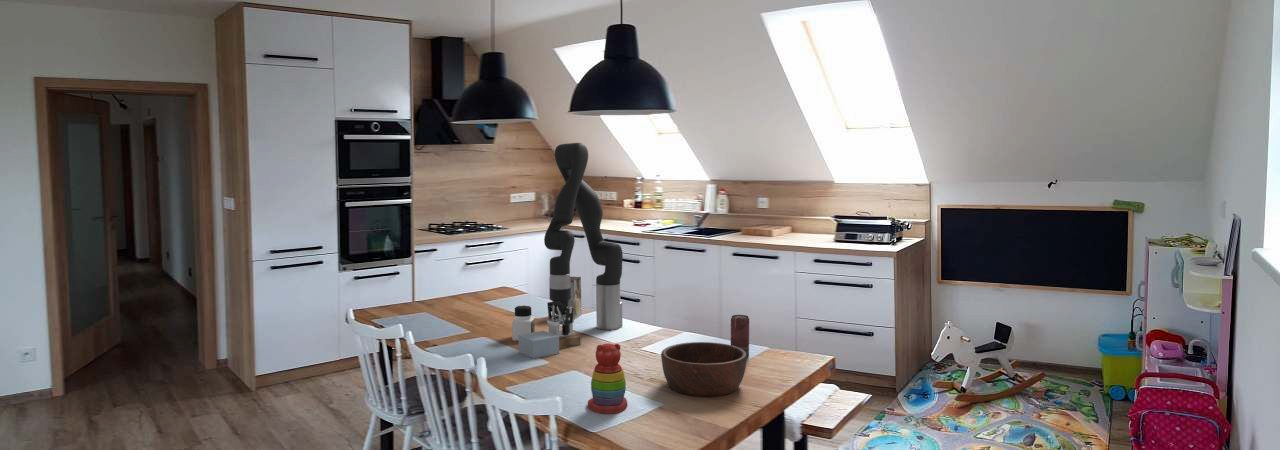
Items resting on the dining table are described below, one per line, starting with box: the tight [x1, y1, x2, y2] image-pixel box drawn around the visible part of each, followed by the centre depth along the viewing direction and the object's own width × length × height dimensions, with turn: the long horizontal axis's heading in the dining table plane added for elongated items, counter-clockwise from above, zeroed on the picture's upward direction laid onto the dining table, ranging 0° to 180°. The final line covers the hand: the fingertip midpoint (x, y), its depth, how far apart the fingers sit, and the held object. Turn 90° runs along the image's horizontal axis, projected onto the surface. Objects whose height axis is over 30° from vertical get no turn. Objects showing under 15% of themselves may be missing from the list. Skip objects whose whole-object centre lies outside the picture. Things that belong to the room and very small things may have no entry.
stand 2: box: [559, 334, 582, 350], centre depth 278 cm, size 10×10×3 cm
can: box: [730, 314, 750, 359], centre depth 259 cm, size 6×6×14 cm
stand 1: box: [518, 330, 560, 359], centre depth 267 cm, size 10×10×6 cm
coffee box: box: [563, 276, 582, 320], centre depth 321 cm, size 9×6×16 cm
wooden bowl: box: [660, 341, 748, 397], centre depth 229 cm, size 25×25×10 cm
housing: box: [546, 317, 575, 338], centre depth 278 cm, size 8×5×6 cm, turn 128°
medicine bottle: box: [511, 304, 536, 342], centre depth 286 cm, size 7×7×12 cm
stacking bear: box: [587, 343, 628, 415], centre depth 210 cm, size 11×10×18 cm
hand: (560, 333), depth 278 cm, fingers open, 5 cm apart
